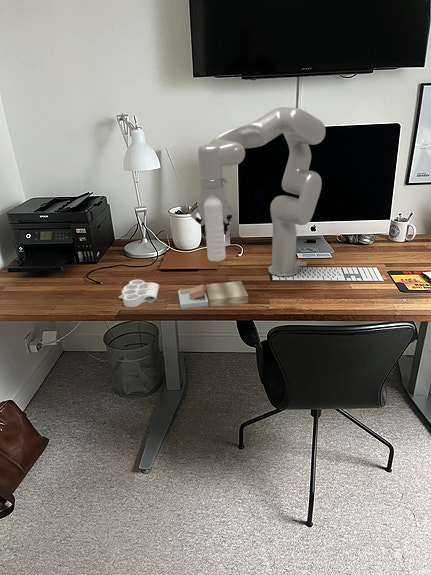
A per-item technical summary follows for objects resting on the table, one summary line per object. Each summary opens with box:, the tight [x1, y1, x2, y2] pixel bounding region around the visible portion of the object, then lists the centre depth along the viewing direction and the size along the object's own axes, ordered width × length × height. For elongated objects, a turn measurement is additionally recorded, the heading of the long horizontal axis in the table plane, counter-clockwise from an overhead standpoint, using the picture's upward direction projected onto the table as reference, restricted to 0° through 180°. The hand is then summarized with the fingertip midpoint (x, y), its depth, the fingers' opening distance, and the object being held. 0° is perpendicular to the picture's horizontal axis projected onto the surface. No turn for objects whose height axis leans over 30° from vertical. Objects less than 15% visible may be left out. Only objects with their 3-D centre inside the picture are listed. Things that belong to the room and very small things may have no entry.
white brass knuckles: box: [118, 279, 160, 308], centre depth 172 cm, size 3×18×15 cm
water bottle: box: [204, 195, 227, 262], centre depth 156 cm, size 9×6×25 cm
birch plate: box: [204, 280, 249, 308], centre depth 168 cm, size 14×13×3 cm
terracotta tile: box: [189, 283, 206, 300], centre depth 168 cm, size 5×5×2 cm
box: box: [177, 288, 210, 310], centre depth 167 cm, size 10×12×2 cm
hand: (214, 234), depth 157 cm, fingers closed on water bottle, 6 cm apart
